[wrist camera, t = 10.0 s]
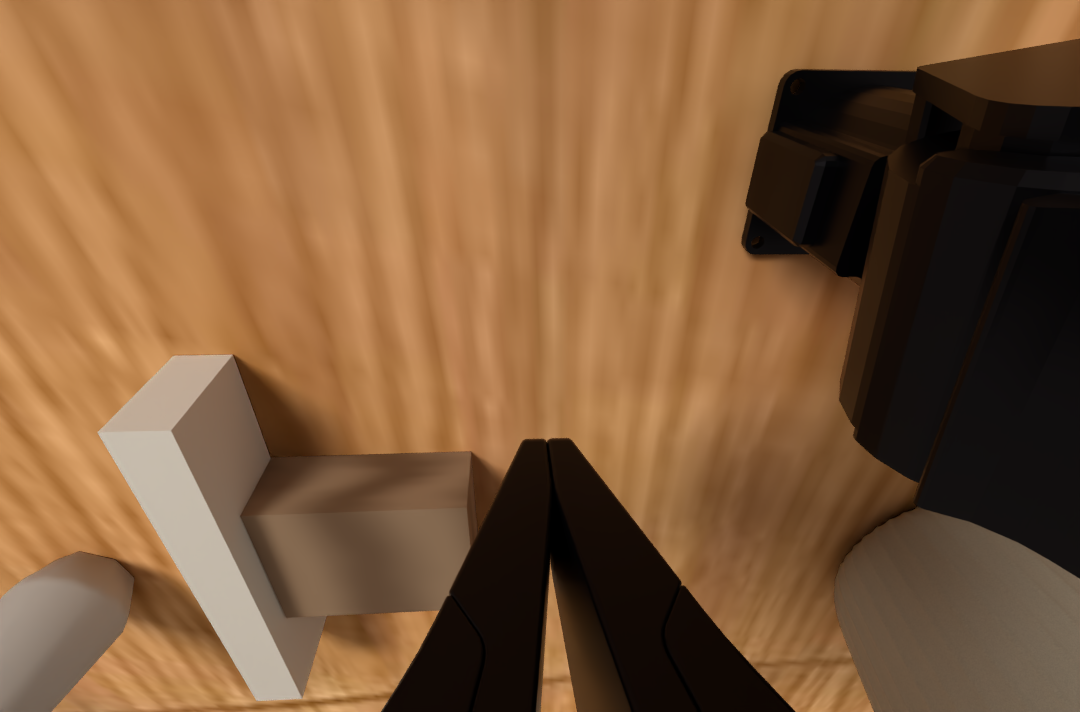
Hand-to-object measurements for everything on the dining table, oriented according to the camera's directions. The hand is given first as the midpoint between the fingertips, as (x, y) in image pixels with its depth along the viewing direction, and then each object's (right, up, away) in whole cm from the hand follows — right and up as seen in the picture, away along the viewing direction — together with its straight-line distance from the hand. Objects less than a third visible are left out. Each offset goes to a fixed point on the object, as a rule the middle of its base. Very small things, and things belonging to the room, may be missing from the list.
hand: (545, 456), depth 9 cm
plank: (-15, -7, +19) cm, 25 cm away
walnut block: (-9, -6, +20) cm, 22 cm away
